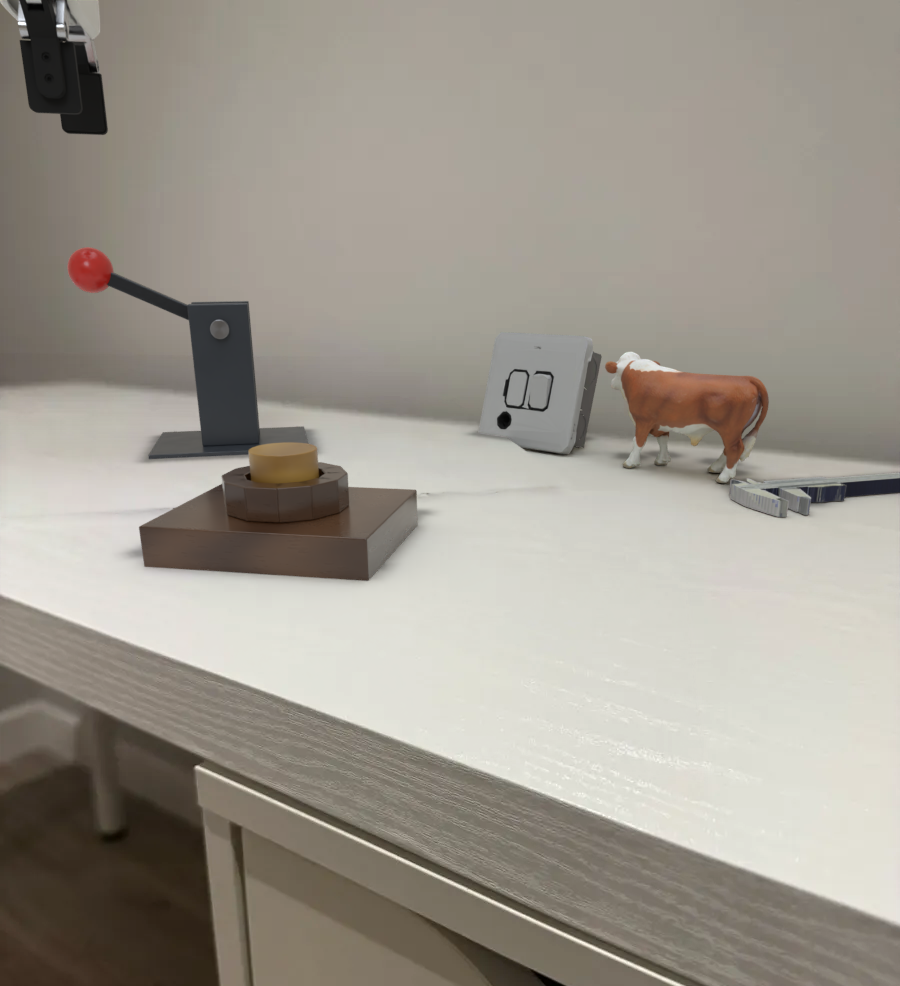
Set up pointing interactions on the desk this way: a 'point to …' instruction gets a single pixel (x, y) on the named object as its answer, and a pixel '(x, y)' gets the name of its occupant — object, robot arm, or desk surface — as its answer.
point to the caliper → (808, 491)
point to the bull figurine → (689, 409)
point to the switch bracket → (223, 388)
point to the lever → (115, 280)
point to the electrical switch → (540, 390)
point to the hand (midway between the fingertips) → (72, 124)
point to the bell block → (283, 527)
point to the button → (283, 462)
